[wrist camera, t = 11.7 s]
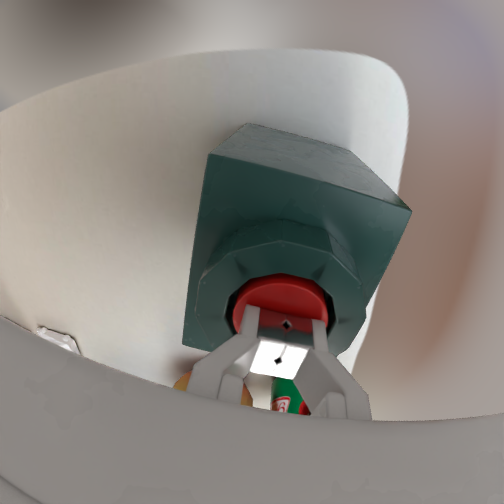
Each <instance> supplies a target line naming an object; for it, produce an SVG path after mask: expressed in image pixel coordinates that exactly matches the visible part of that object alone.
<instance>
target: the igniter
mask: <svg viewBox="0 0 504 504" xmlns="http://www.w3.org/2000/svg"><path fill="white" fill-rule="evenodd" d="M411 214H412V210H411V209H410V208H409V207H408V206H407V205H406V204H405V203H404V202H403V201H402V200H401V199H400V198H399V197H398V196H397V195H396V194H395V193H394V192H393V191H392V190H391V189H390V188H389V187H388V186H387V185H386V184H385V183H384V182H383V181H382V180H381V179H380V178H379V177H378V176H377V175H376V174H375V173H374V172H373V171H372V170H371V169H370V168H369V167H368V166H367V165H365V164H364V163H363V162H362V161H361V160H360V159H359V158H358V157H357V156H356V155H354V154H353V153H352V152H351V151H349V150H346V149H343V148H340V147H337V146H333V145H330V144H327V143H324V142H320V141H317V140H313V139H310V138H306V137H303V136H299V135H296V134H292V133H288V132H284V131H280V130H276V129H272V128H268V127H264V126H259V125H255V124H251V123H247V124H246V125H245V126H243V127H242V128H241V129H239V130H238V131H237V132H235V133H234V134H233V135H232V136H230V137H229V138H228V139H227V140H225V141H224V142H223V143H222V144H220V145H219V146H218V147H217V148H215V149H214V150H213V151H212V152H210V153H209V154H208V158H207V164H206V169H205V175H204V181H203V187H202V193H201V199H200V205H199V211H198V218H197V224H196V231H195V238H194V245H193V252H192V260H191V267H190V275H189V283H188V292H187V300H186V309H185V319H184V329H183V339H182V344H183V345H186V346H189V347H193V348H197V349H201V350H205V351H208V352H212V351H214V350H215V349H216V348H218V347H219V346H221V345H222V344H223V343H225V342H226V341H228V340H229V339H230V338H232V337H233V336H234V335H236V334H238V333H237V331H236V329H235V327H234V323H233V311H234V306H235V302H236V298H237V293H238V289H239V288H240V287H241V286H242V285H243V284H245V283H246V282H247V281H248V280H249V279H252V278H257V277H262V276H267V275H272V274H276V273H286V274H290V275H294V276H298V277H302V278H307V279H311V280H314V281H315V282H316V283H317V284H318V285H319V286H320V287H321V288H322V289H323V290H324V292H325V298H326V305H327V312H328V324H327V327H326V335H327V343H328V351H329V352H330V353H333V354H334V356H335V357H337V356H338V355H339V354H340V353H342V352H344V351H345V350H347V349H348V348H349V346H350V345H351V343H352V342H353V340H354V338H355V337H356V335H357V334H358V332H359V330H360V329H361V327H362V325H363V323H364V322H365V319H366V306H367V305H368V303H369V301H370V299H371V297H372V295H373V294H374V292H375V290H376V288H377V286H378V284H379V282H380V280H381V278H382V276H383V274H384V272H385V270H386V268H387V266H388V264H389V262H390V260H391V258H392V256H393V254H394V252H395V249H396V248H397V245H398V243H399V241H400V239H401V236H402V235H403V232H404V230H405V228H406V225H407V223H408V221H409V219H410V216H411Z"/></svg>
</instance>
